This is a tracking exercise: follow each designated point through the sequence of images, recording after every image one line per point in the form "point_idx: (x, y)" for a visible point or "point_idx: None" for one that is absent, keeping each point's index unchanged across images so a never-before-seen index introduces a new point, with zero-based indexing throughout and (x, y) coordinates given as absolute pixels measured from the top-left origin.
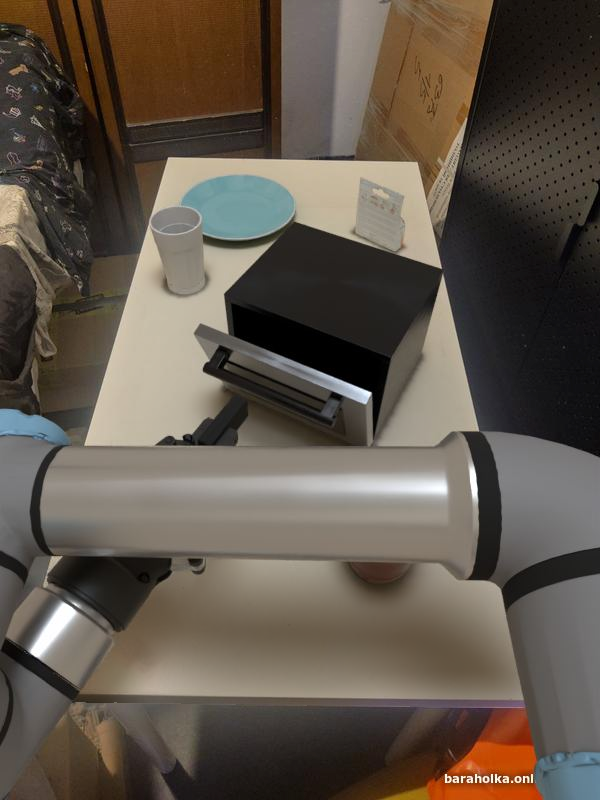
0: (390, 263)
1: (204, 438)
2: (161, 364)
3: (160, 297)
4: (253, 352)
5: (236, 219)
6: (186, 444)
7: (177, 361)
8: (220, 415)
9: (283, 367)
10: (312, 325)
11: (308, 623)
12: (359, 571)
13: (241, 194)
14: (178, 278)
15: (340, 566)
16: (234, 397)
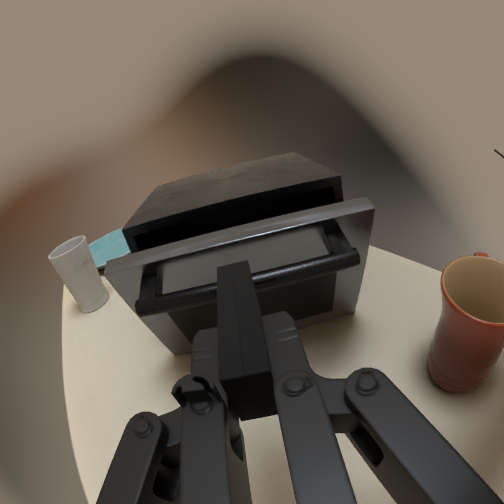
0: (255, 162)
1: (235, 365)
2: (101, 368)
3: (79, 320)
4: (192, 245)
5: (113, 253)
6: (199, 410)
7: (114, 358)
8: (224, 305)
9: (246, 234)
10: (239, 196)
11: (476, 464)
12: (477, 382)
13: (111, 243)
14: (85, 295)
15: (447, 404)
16: (222, 270)
